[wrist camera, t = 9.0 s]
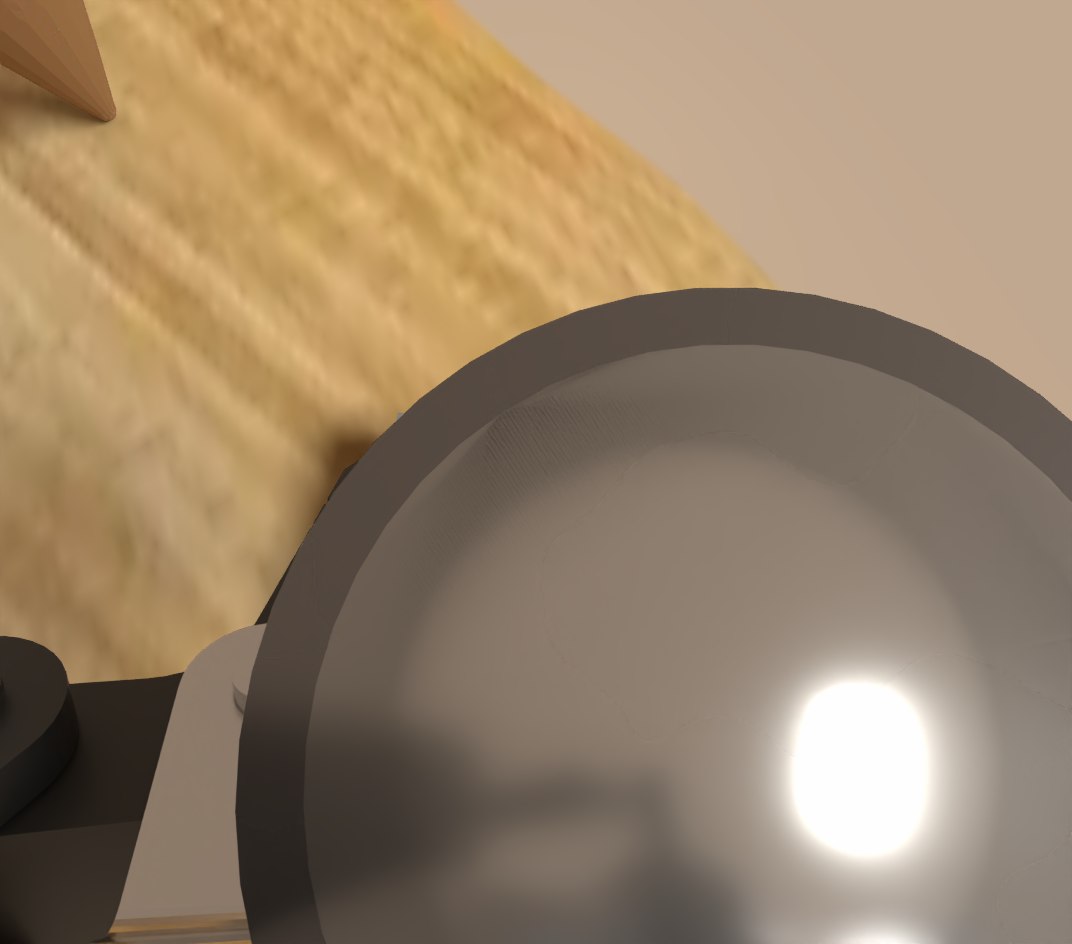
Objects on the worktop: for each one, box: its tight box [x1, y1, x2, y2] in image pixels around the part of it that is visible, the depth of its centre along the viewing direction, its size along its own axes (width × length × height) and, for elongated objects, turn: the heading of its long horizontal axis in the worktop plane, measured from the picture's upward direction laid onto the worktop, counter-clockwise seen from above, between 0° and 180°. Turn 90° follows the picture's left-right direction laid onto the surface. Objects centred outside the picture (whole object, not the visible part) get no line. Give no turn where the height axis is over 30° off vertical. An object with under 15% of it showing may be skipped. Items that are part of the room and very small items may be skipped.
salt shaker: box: [235, 288, 1072, 944], centre depth 9 cm, size 5×5×10 cm
